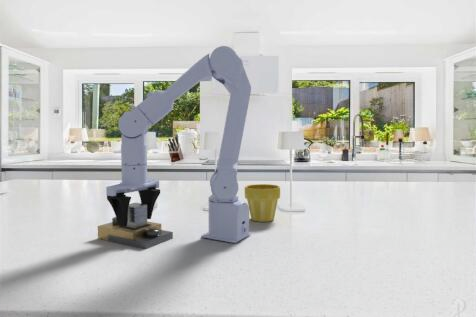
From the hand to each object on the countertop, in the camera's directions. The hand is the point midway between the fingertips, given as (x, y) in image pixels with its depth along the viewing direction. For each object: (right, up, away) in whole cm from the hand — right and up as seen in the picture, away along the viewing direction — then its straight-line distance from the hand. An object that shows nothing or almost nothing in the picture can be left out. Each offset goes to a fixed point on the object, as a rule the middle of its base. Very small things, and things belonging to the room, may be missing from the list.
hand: (135, 222), depth 80 cm
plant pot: (+31, -3, +19) cm, 37 cm away
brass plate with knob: (0, -4, 0) cm, 4 cm away
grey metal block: (0, -4, 0) cm, 4 cm away
